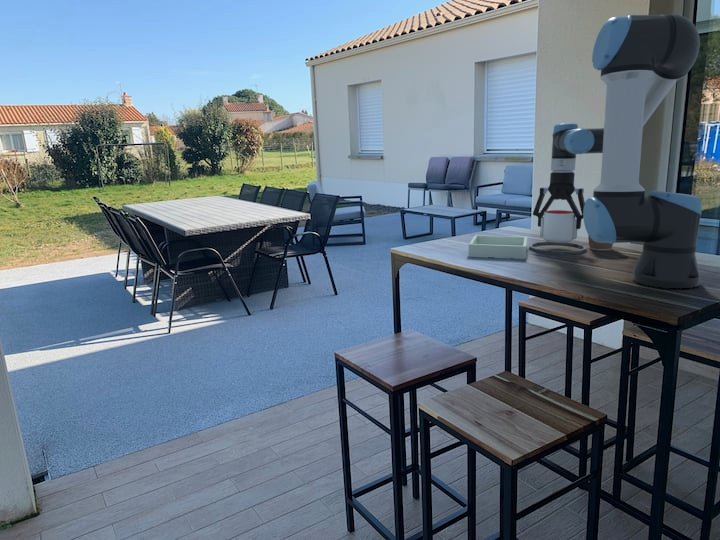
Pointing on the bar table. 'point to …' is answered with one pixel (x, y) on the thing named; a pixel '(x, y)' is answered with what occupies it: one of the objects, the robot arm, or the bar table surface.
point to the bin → (498, 247)
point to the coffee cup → (599, 245)
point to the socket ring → (582, 250)
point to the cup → (558, 226)
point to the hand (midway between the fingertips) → (558, 237)
